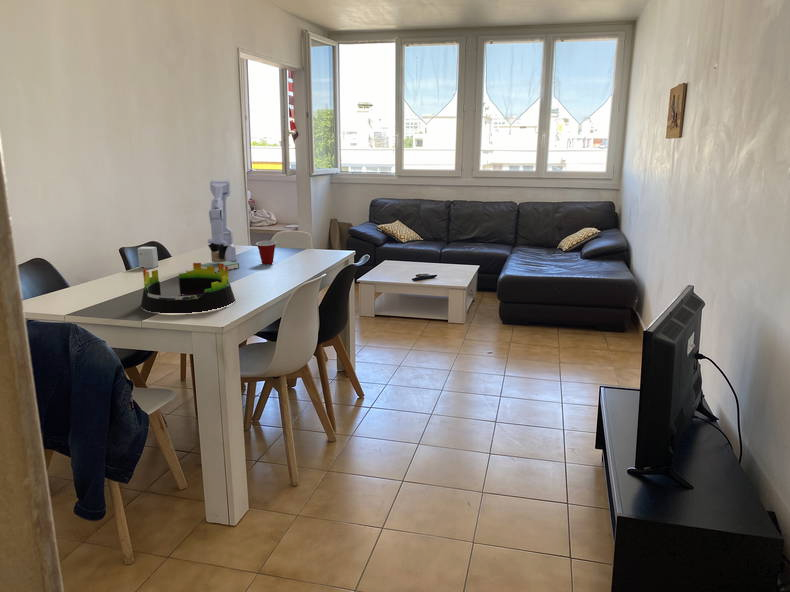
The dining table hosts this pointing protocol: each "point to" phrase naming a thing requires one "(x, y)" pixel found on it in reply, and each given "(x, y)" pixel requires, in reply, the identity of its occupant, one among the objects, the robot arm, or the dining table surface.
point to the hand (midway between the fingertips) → (218, 258)
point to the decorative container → (189, 291)
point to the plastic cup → (266, 251)
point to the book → (227, 263)
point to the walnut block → (217, 257)
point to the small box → (147, 257)
